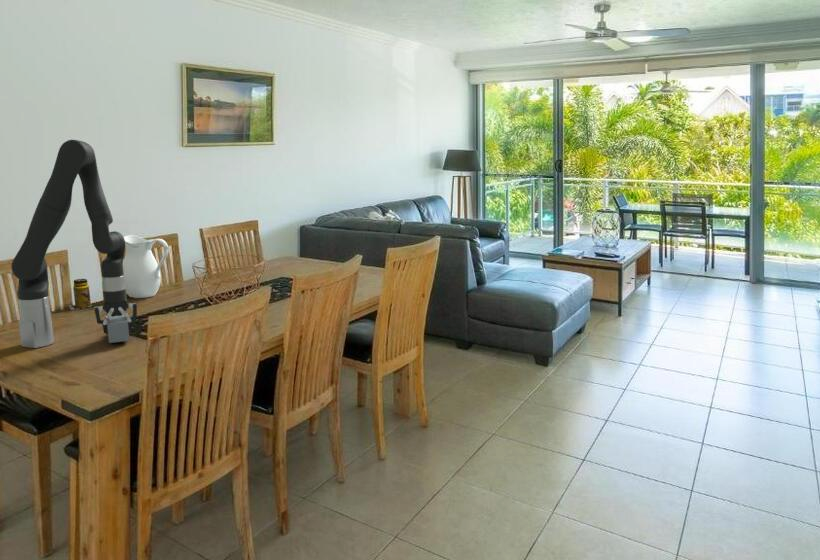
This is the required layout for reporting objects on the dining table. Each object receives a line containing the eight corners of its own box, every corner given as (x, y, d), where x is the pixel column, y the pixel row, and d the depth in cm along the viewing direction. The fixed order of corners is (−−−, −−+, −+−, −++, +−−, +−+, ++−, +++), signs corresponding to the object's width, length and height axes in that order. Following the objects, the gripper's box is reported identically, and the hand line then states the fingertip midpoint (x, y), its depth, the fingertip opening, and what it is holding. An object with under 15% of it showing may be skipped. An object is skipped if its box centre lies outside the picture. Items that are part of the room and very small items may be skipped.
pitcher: (114, 298, 285) (108, 238, 279) (140, 290, 301) (135, 233, 295) (158, 302, 279) (153, 241, 272) (182, 294, 294) (178, 235, 288)
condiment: (92, 307, 270) (90, 280, 267) (70, 310, 265) (67, 282, 263) (90, 303, 276) (87, 277, 273) (69, 306, 271) (65, 279, 269)
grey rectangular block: (129, 340, 222) (127, 321, 221) (109, 343, 219) (107, 324, 218) (127, 332, 232) (125, 314, 230) (107, 334, 229) (106, 316, 227)
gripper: (91, 292, 215) (96, 338, 219) (136, 288, 221) (140, 333, 225) (91, 287, 221) (95, 332, 225) (135, 284, 228) (138, 327, 232)
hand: (118, 332), depth 225 cm, fingers closed on grey rectangular block, 6 cm apart
